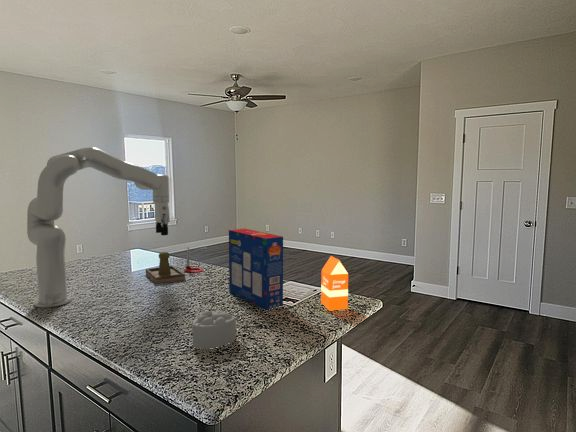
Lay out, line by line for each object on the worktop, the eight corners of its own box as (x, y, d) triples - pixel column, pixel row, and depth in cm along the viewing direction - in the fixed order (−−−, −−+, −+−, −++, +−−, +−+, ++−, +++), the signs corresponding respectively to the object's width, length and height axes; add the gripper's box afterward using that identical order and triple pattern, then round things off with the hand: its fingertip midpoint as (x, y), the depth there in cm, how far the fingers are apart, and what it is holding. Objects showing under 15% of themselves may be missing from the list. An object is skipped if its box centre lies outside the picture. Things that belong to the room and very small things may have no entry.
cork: (166, 271, 190) (165, 250, 189) (173, 273, 186) (172, 252, 185) (155, 273, 185) (155, 252, 184) (162, 276, 181) (161, 254, 180)
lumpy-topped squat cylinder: (240, 340, 115) (239, 313, 114) (204, 354, 106) (203, 325, 105) (220, 330, 122) (220, 305, 121) (185, 342, 113) (184, 315, 112)
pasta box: (282, 306, 145) (283, 236, 142) (266, 310, 140) (266, 238, 137) (244, 289, 167) (244, 228, 164) (229, 292, 162) (228, 230, 159)
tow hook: (205, 270, 203) (190, 268, 205) (206, 247, 201) (190, 245, 203) (198, 274, 194) (182, 272, 197) (198, 250, 193) (183, 248, 195)
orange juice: (328, 312, 139) (329, 260, 136) (320, 305, 147) (321, 255, 145) (348, 311, 141) (349, 259, 139) (338, 303, 149) (339, 254, 147)
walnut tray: (185, 280, 182) (184, 273, 181) (155, 284, 174) (155, 277, 174) (173, 271, 198) (172, 265, 198) (145, 275, 190) (145, 269, 190)
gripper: (173, 200, 177) (174, 235, 178) (164, 198, 191) (164, 231, 193) (157, 200, 173) (158, 236, 174) (148, 198, 187) (149, 232, 189)
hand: (161, 233), depth 184 cm, fingers open, 9 cm apart
